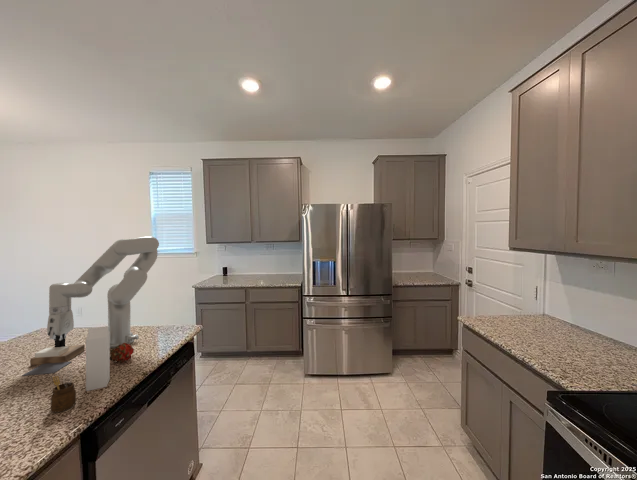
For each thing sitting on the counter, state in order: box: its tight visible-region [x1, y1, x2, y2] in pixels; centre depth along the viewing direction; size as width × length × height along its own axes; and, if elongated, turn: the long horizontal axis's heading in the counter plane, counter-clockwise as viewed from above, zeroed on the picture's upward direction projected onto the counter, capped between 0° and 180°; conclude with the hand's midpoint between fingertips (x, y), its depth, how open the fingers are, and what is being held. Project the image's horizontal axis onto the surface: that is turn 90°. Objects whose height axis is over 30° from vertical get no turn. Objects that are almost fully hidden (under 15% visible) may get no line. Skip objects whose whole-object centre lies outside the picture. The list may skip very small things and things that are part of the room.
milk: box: [85, 325, 111, 392], centre depth 100 cm, size 6×6×22 cm
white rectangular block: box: [34, 345, 70, 358], centre depth 120 cm, size 9×6×2 cm, turn 101°
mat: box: [21, 361, 72, 377], centre depth 112 cm, size 11×10×1 cm
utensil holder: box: [50, 370, 77, 414], centre depth 86 cm, size 6×6×12 cm
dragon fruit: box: [110, 343, 135, 364], centre depth 120 cm, size 8×8×12 cm
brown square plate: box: [29, 344, 86, 366], centre depth 123 cm, size 13×13×3 cm
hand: (60, 347), depth 124 cm, fingers closed
